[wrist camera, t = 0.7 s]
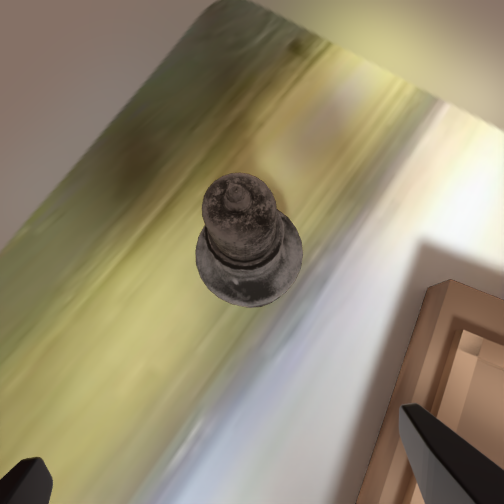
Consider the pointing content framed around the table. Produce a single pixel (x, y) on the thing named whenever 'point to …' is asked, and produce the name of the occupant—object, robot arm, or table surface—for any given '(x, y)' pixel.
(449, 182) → the table surface
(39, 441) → the table surface
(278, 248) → the antique pepper shaker
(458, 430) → the walnut plinth
